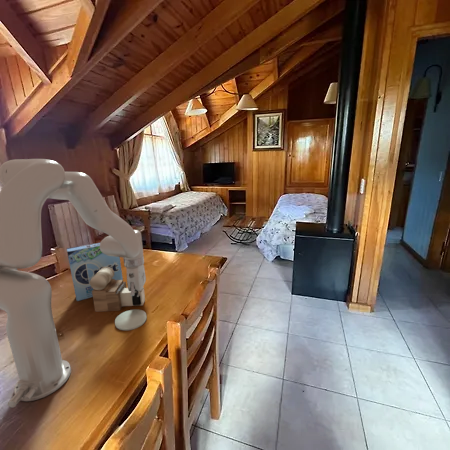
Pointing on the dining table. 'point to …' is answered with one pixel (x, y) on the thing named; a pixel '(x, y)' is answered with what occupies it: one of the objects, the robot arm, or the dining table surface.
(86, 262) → the gum box
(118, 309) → the dispenser
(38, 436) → the dining table surface
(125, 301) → the white box
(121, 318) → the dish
